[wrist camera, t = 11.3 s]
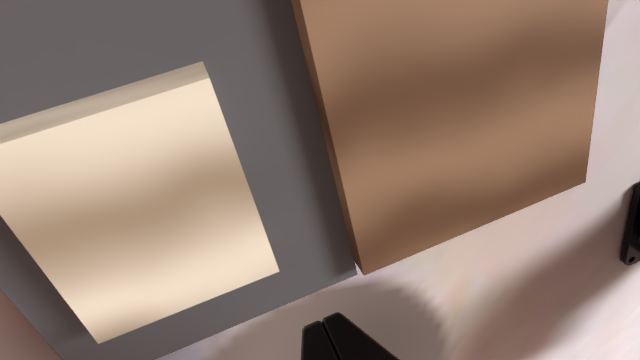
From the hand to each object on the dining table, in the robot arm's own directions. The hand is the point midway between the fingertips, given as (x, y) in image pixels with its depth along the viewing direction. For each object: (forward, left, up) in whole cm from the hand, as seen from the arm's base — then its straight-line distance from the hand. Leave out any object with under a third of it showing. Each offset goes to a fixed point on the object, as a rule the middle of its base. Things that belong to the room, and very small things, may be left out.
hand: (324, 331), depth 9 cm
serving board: (0, -9, -10) cm, 13 cm away
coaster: (0, +4, -9) cm, 10 cm away
